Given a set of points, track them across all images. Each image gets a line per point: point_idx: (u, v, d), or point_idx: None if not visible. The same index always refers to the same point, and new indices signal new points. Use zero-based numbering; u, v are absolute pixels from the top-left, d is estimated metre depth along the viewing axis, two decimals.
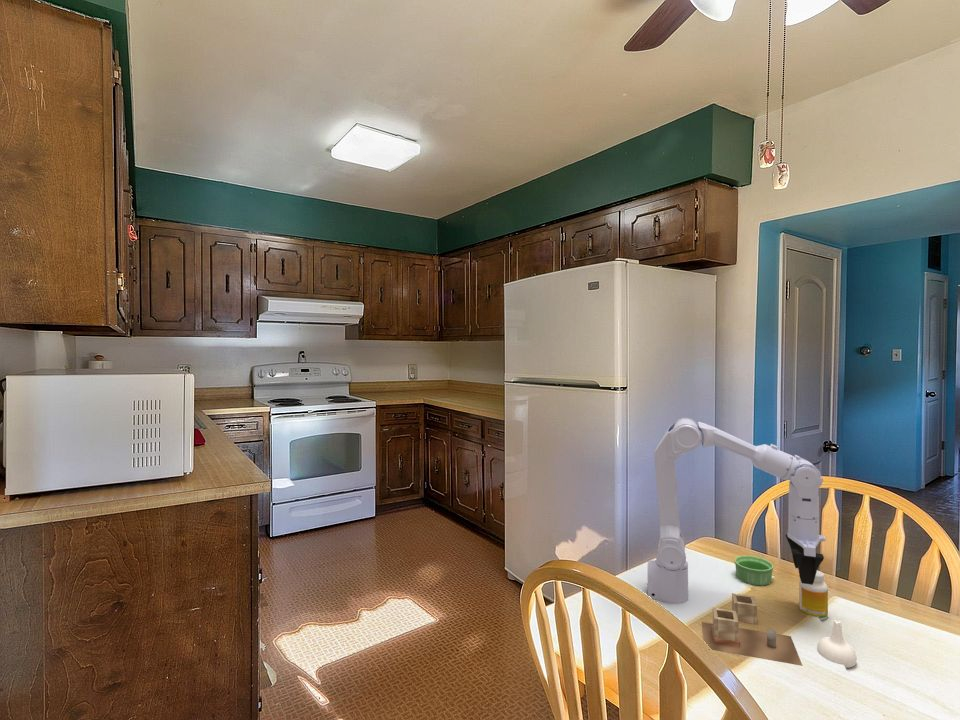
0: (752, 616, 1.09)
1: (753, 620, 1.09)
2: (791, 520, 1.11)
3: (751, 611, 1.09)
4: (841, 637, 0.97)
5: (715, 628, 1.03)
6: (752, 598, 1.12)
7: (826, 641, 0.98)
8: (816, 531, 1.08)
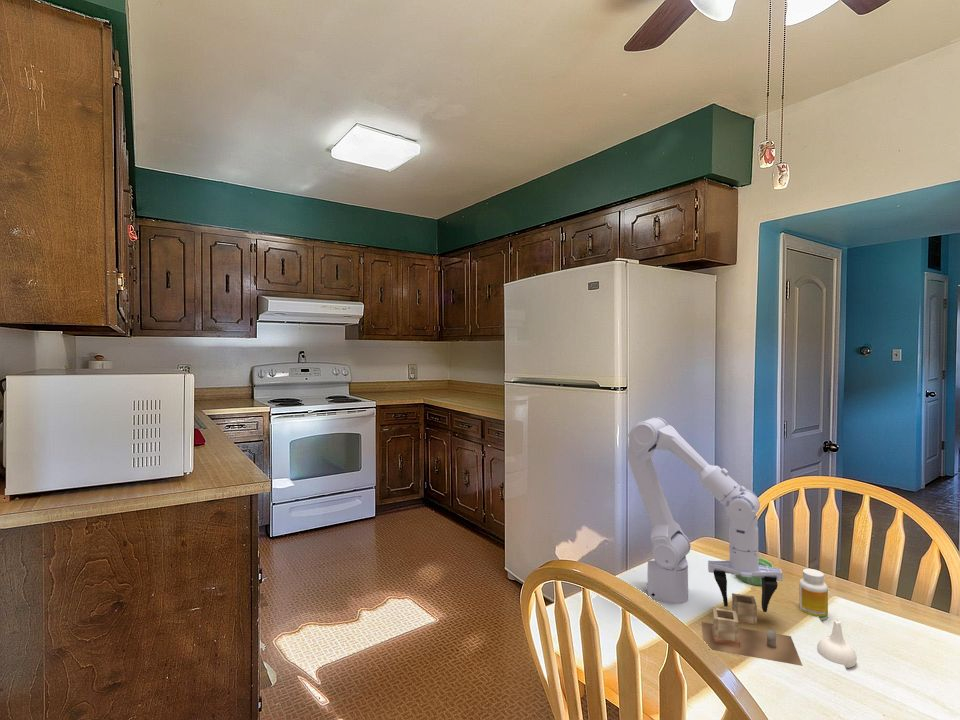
0: (752, 616, 1.09)
1: (753, 620, 1.09)
2: None
3: (751, 611, 1.09)
4: (841, 637, 0.97)
5: (715, 628, 1.03)
6: (752, 598, 1.12)
7: (826, 641, 0.98)
8: (734, 561, 1.10)
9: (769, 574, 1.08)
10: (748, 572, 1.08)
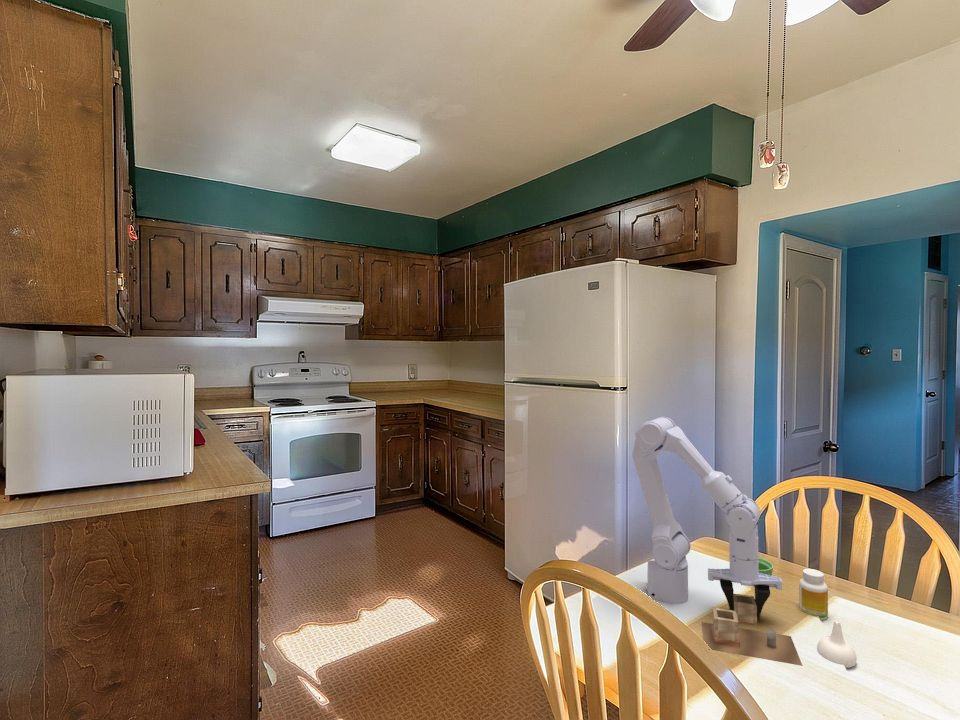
0: (752, 616, 1.09)
1: (753, 620, 1.09)
2: None
3: (751, 611, 1.09)
4: (841, 637, 0.97)
5: (715, 628, 1.03)
6: (752, 598, 1.12)
7: (826, 641, 0.98)
8: (734, 569, 1.10)
9: (769, 583, 1.08)
10: (748, 581, 1.08)
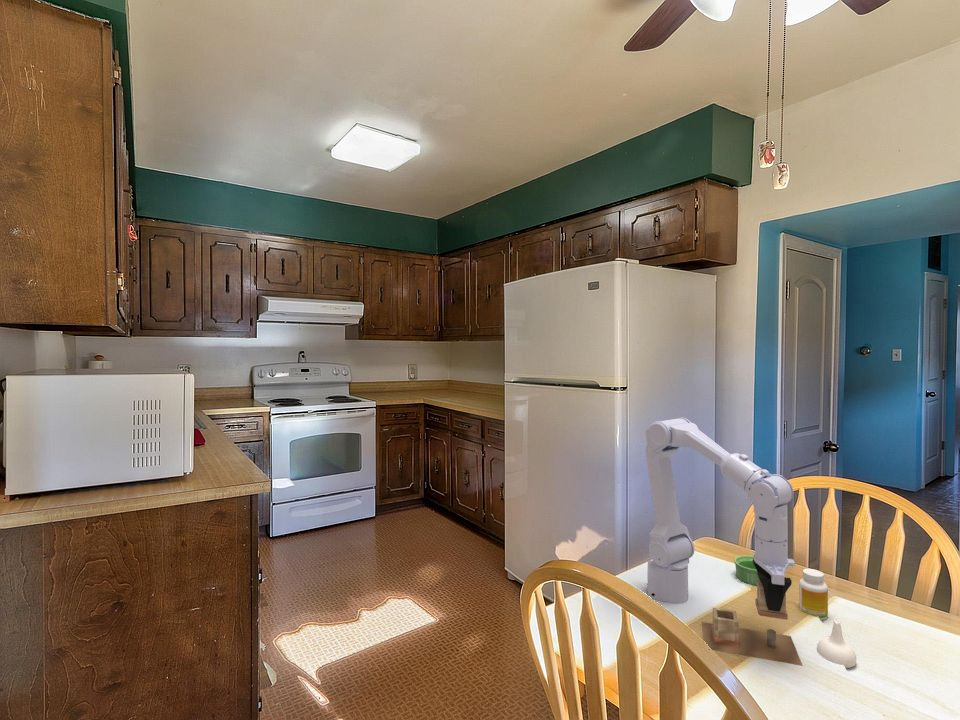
0: None
1: None
2: (758, 543, 1.00)
3: None
4: (841, 637, 0.97)
5: (715, 628, 1.03)
6: None
7: (826, 641, 0.98)
8: (784, 555, 0.98)
9: None
10: (788, 559, 1.00)
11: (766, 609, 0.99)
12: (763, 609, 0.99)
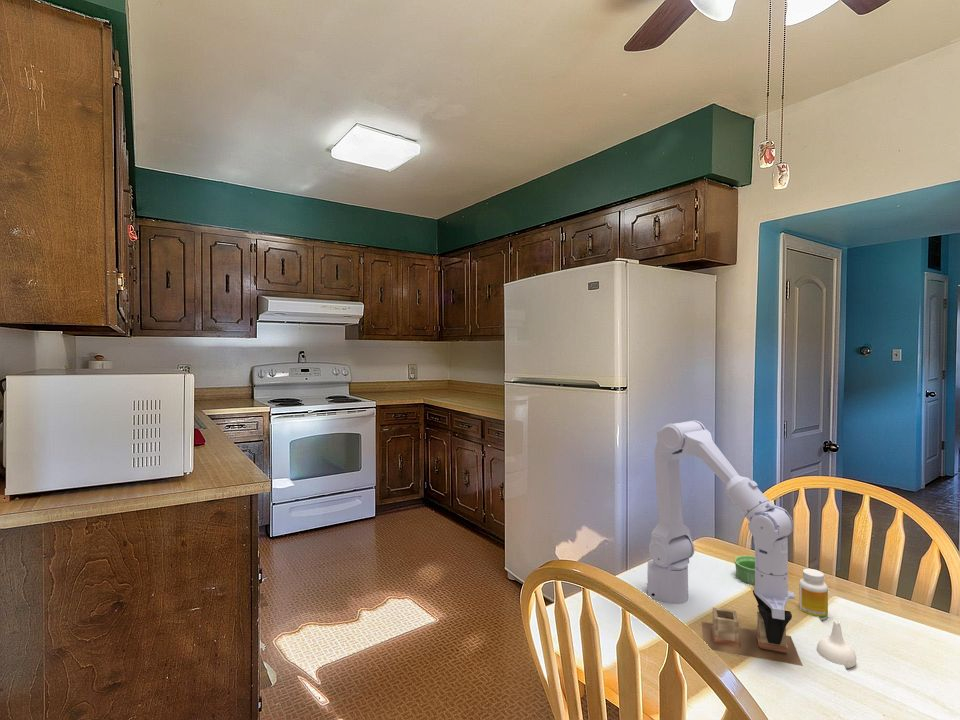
0: None
1: None
2: (758, 575, 1.00)
3: None
4: (841, 637, 0.97)
5: (715, 628, 1.03)
6: None
7: (826, 641, 0.98)
8: (784, 588, 0.98)
9: None
10: (788, 591, 1.00)
11: (766, 642, 0.99)
12: (763, 642, 1.00)
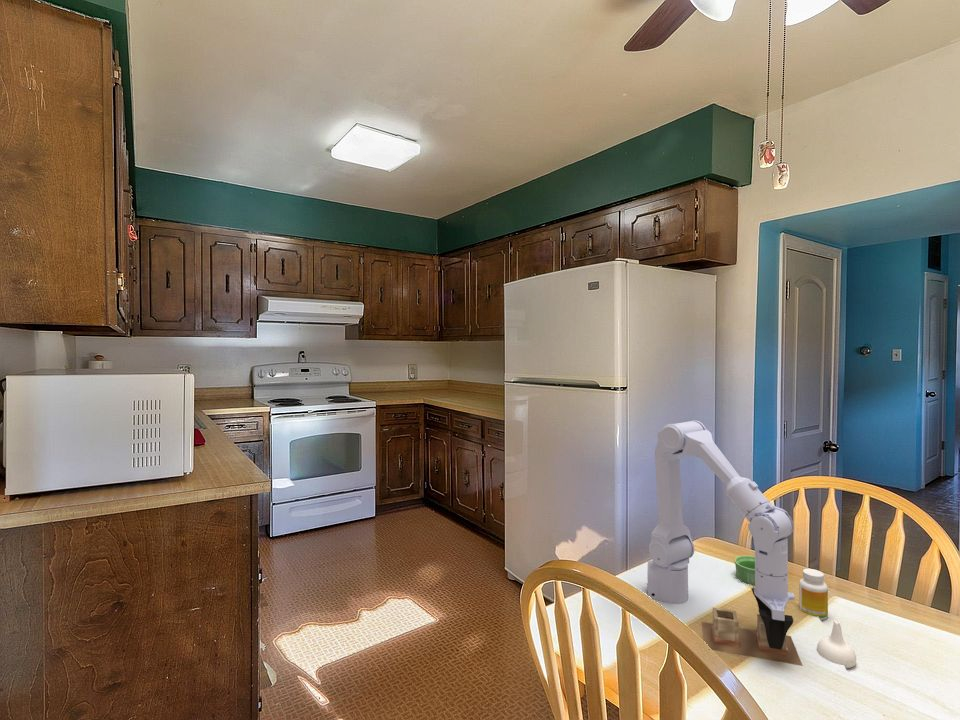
0: None
1: None
2: (758, 576, 1.00)
3: None
4: (841, 637, 0.97)
5: (715, 628, 1.03)
6: None
7: (826, 641, 0.98)
8: (784, 589, 0.98)
9: None
10: (788, 592, 1.00)
11: (766, 644, 0.99)
12: (764, 644, 1.00)
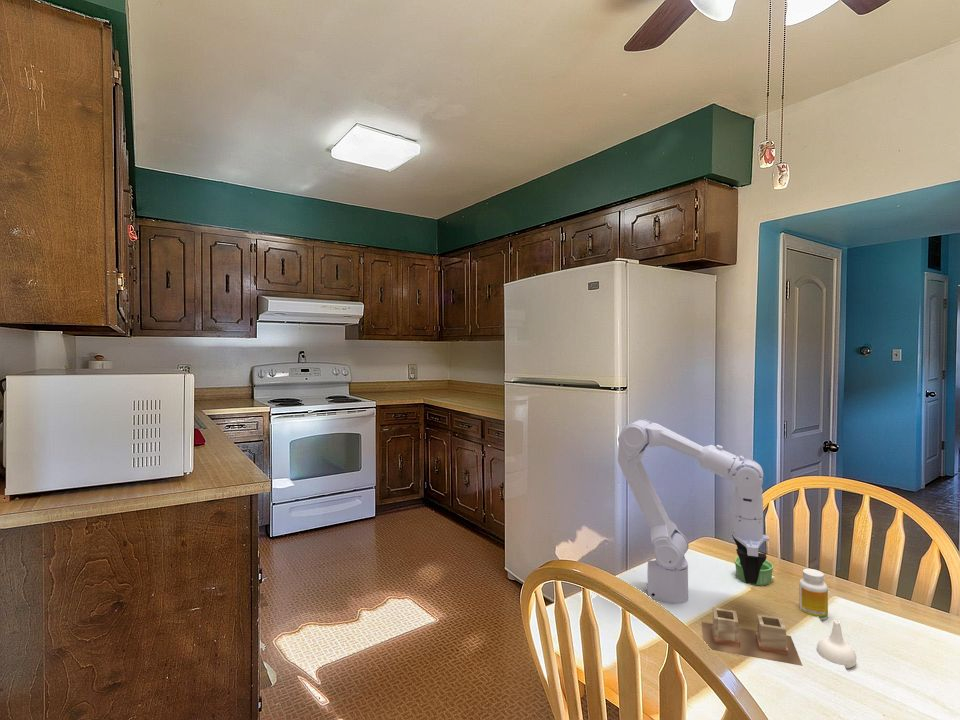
0: None
1: None
2: (736, 520, 1.12)
3: None
4: (841, 637, 0.97)
5: (715, 628, 1.03)
6: (763, 616, 1.03)
7: (826, 641, 0.98)
8: (760, 531, 1.10)
9: None
10: (763, 535, 1.12)
11: (766, 644, 0.99)
12: (764, 644, 1.00)
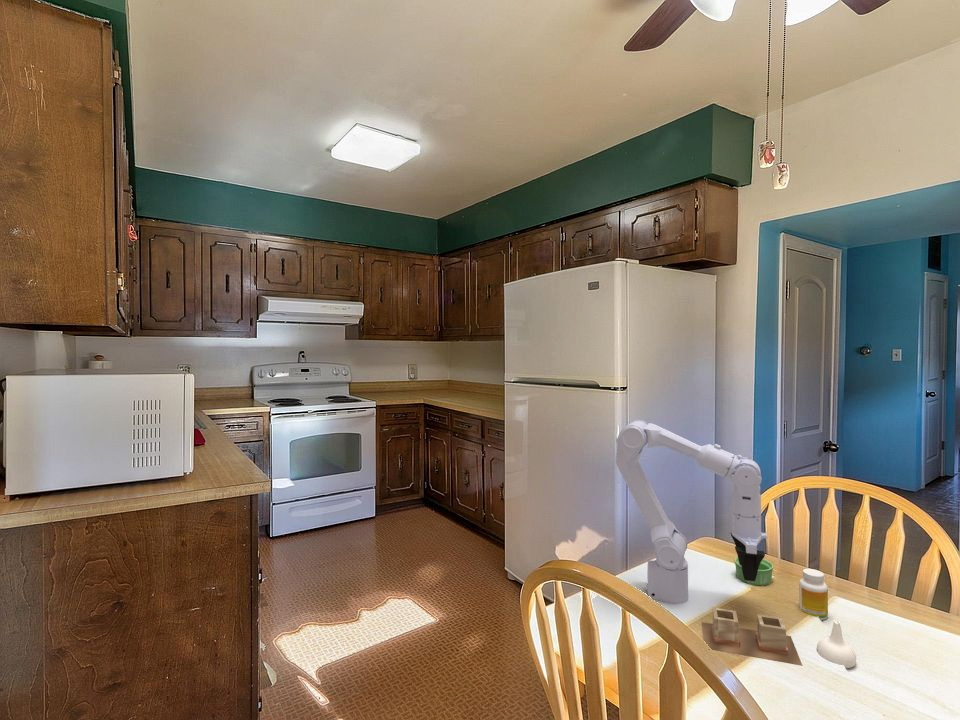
0: None
1: None
2: (735, 518, 1.13)
3: None
4: (840, 637, 0.97)
5: (715, 628, 1.03)
6: (763, 616, 1.03)
7: (826, 641, 0.98)
8: (758, 528, 1.11)
9: None
10: (761, 533, 1.13)
11: (766, 644, 0.99)
12: (764, 644, 1.00)
